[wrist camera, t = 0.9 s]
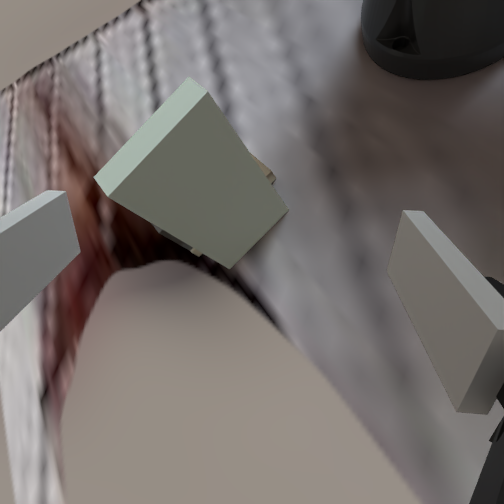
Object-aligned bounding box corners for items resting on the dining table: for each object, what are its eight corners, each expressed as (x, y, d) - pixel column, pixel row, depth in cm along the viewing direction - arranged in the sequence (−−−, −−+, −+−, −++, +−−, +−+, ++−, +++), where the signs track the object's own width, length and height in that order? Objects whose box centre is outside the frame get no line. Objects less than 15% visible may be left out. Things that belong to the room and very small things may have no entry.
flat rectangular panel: (269, 192, 35) (179, 69, 20) (288, 209, 33) (207, 91, 19) (212, 249, 35) (87, 168, 21) (229, 269, 34) (107, 196, 19)
